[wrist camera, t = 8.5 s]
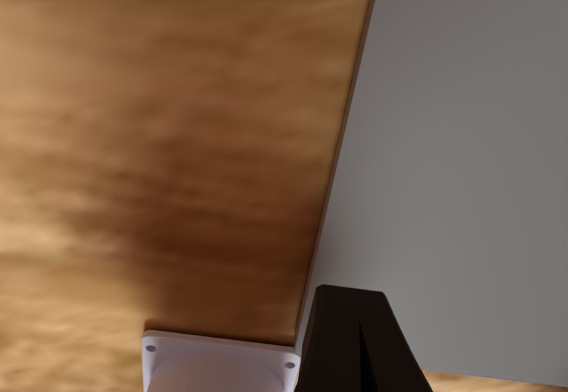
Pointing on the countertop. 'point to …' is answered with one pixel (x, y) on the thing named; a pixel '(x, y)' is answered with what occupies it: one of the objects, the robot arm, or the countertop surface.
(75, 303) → the countertop surface
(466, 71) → the gate board
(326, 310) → the robot arm
